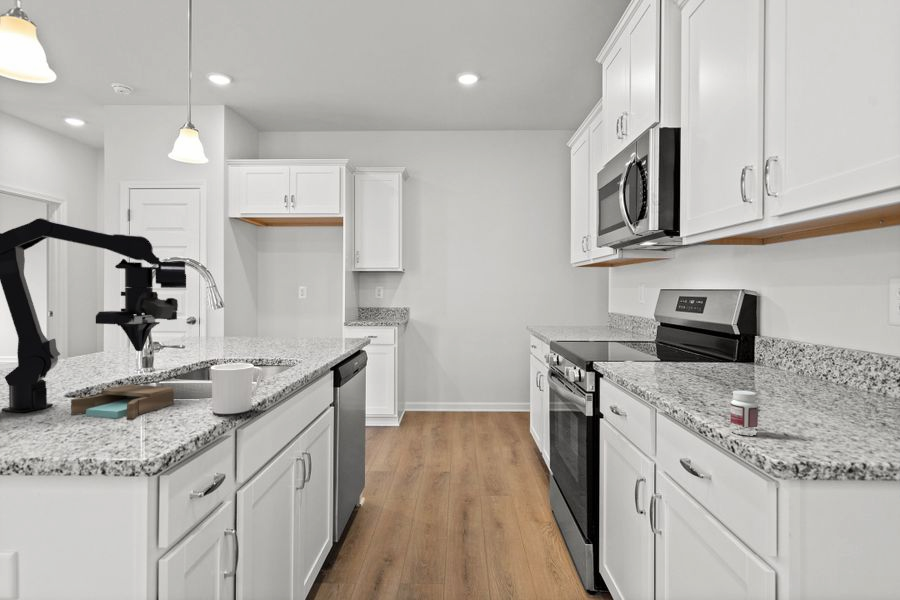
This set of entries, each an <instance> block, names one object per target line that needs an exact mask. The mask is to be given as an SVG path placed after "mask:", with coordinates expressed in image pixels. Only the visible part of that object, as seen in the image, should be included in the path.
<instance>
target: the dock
mask: <svg viewBox="0 0 900 600" xmlns="http://www.w3.org/2000/svg"><path fill="white" fill-rule="evenodd" d="M174 394H175V389H174V387H172V386H159V385H157V386H155V385H141V384H139V385H138V384H124V385H119V386H115V387H110V388H105V389H101V393H99V394H96V395H90V396H88V397H87V396H86V397H79V398H71V399H70V403H71V404H70V409H71V410H70V415H73V416H74V414H75V415H81V414H86V409H89V408H93V407H97V406H101V405H105V404H109V403H113V402H116V401H120V400H124V399H128V398H132V397H139V398H138V399H134V400H132V401H130V402H129V403H128V404H127V416H126V420H133V419H135V418H136V417H137V416H139V415H142V414H146V413H149V412H154V411H155V410H159V409H162V408H165V407H169V406H172V405H174V403H175V401H174V399H175V397H174V396H175V395H174ZM80 413H81V414H80Z"/></svg>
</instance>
